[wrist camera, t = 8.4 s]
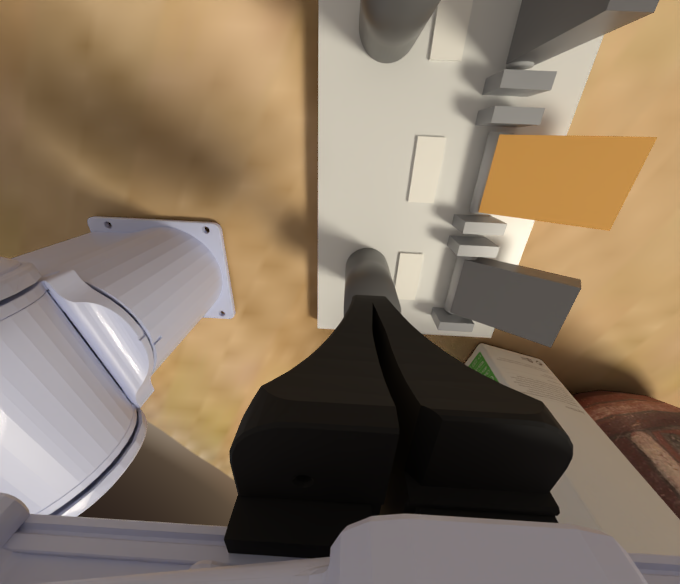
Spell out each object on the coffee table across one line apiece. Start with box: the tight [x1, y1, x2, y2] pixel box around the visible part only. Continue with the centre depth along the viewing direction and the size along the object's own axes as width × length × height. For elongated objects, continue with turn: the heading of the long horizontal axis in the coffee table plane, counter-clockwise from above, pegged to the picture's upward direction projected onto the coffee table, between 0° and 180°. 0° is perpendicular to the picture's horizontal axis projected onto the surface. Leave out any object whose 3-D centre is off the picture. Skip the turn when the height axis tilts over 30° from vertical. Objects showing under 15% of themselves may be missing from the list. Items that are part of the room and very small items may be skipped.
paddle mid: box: [469, 132, 657, 231], centre depth 15 cm, size 1×4×7 cm
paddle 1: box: [444, 256, 581, 347], centre depth 18 cm, size 1×4×7 cm
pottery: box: [572, 391, 680, 519], centre depth 21 cm, size 18×18×18 cm
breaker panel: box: [318, 0, 604, 338], centre depth 14 cm, size 14×24×7 cm, turn 178°
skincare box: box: [465, 343, 680, 556], centre depth 19 cm, size 8×7×16 cm
